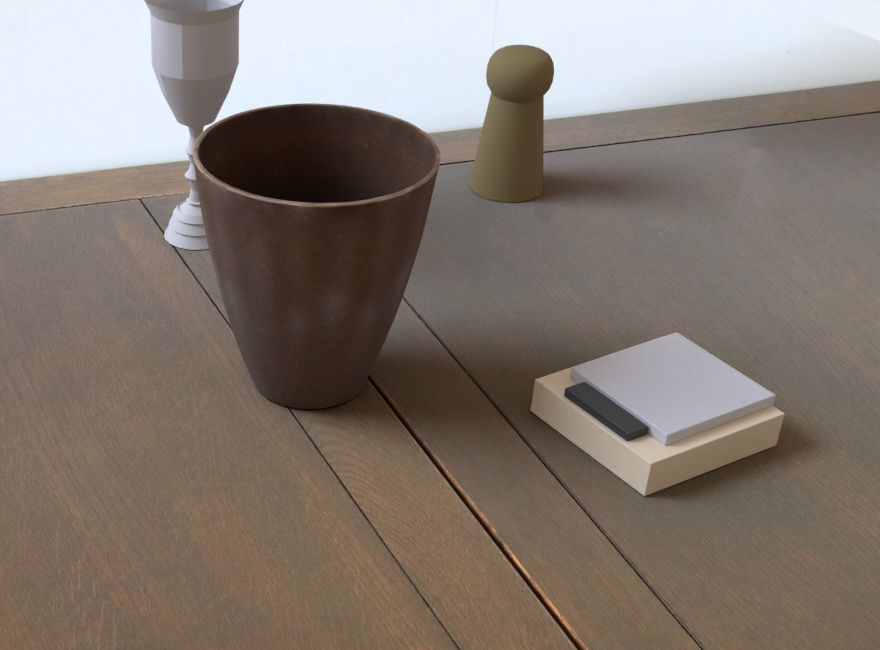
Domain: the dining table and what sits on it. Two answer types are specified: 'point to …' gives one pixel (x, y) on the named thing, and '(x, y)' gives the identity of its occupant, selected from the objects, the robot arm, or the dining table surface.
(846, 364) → the dining table surface
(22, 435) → the dining table surface
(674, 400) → the scale
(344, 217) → the flower pot
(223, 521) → the dining table surface
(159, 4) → the chalice
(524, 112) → the olive pawn
